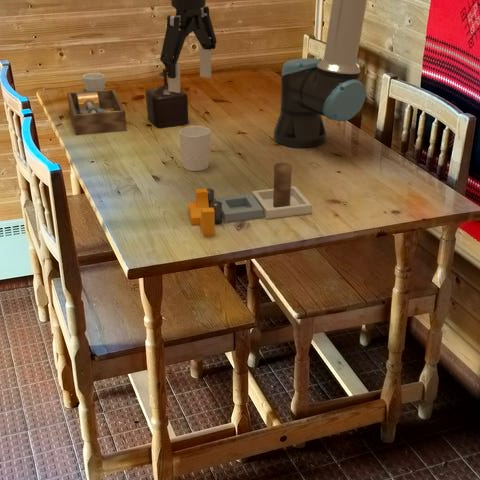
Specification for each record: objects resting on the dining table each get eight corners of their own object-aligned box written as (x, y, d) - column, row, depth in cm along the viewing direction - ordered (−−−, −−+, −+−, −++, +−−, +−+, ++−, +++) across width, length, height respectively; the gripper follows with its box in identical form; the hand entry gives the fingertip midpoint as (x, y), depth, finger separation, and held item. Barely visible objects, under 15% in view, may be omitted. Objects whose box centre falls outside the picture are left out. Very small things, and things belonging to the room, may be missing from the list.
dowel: (292, 204, 172) (294, 164, 167) (285, 210, 169) (287, 170, 164) (277, 200, 174) (278, 161, 169) (270, 206, 171) (271, 167, 166)
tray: (294, 195, 178) (295, 186, 176) (311, 215, 168) (311, 205, 167) (251, 201, 175) (252, 191, 174) (266, 221, 166) (266, 210, 164)
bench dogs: (212, 207, 172) (212, 187, 169) (223, 225, 164) (223, 205, 161) (201, 208, 171) (201, 189, 169) (212, 226, 163) (211, 206, 161)
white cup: (184, 173, 189) (183, 137, 184) (178, 162, 196) (177, 127, 191) (213, 170, 191) (213, 134, 186) (206, 159, 198) (206, 124, 193)
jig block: (251, 203, 174) (251, 193, 173) (262, 219, 166) (263, 209, 165) (214, 207, 172) (214, 197, 170) (225, 224, 164) (225, 214, 163)
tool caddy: (115, 107, 237) (114, 89, 234) (126, 130, 217) (125, 111, 215) (69, 111, 233) (67, 92, 230) (75, 135, 214) (73, 115, 211)
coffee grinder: (191, 124, 223) (189, 65, 214) (157, 128, 219) (154, 69, 210) (174, 109, 235) (172, 53, 227) (141, 113, 231) (138, 57, 223)
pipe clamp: (188, 215, 169) (187, 189, 165) (206, 213, 169) (206, 188, 166) (195, 239, 158) (194, 212, 155) (214, 237, 159) (214, 211, 156)
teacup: (107, 93, 250) (106, 78, 247) (85, 95, 248) (83, 79, 245) (103, 85, 258) (102, 70, 255) (81, 87, 256) (80, 72, 253)
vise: (71, 112, 232) (68, 92, 229) (103, 109, 235) (101, 89, 232) (78, 131, 217) (76, 109, 214) (113, 127, 220) (111, 106, 217)
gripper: (170, -1, 147) (174, 100, 157) (230, -19, 166) (230, 73, 176) (140, -5, 150) (146, 95, 160) (202, -22, 169) (204, 69, 179)
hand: (190, 84), depth 168 cm, fingers open, 13 cm apart
